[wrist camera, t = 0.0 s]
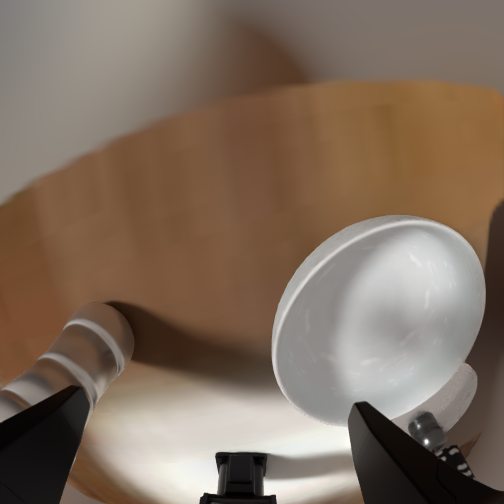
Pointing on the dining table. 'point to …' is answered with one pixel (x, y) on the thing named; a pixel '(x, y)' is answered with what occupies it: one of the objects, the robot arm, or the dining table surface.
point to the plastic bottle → (75, 360)
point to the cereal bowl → (377, 318)
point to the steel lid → (440, 410)
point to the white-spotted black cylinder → (455, 460)
